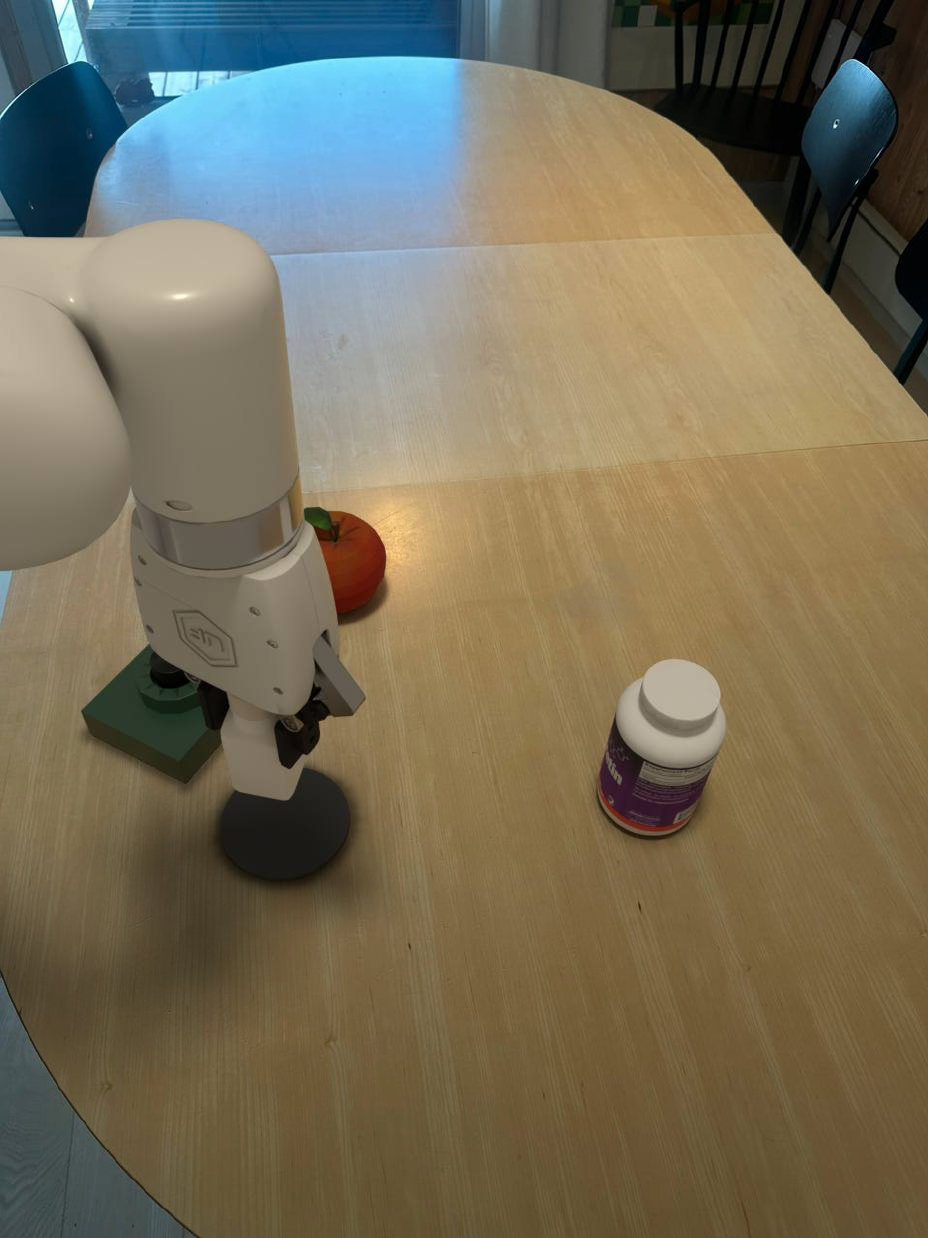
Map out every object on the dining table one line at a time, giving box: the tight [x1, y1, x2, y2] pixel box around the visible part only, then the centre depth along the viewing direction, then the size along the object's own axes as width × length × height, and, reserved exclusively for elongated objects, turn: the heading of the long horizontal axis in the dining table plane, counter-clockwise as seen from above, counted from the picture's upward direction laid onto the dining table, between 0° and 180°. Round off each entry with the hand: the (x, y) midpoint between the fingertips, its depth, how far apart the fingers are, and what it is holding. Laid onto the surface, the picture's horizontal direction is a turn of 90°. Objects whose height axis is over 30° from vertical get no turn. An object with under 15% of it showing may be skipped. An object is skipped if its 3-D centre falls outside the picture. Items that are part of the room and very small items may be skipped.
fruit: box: [304, 506, 387, 615], centre depth 89 cm, size 10×10×10 cm
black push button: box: [150, 651, 190, 689], centre depth 79 cm, size 3×3×2 cm
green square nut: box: [80, 643, 222, 784], centre depth 81 cm, size 12×10×5 cm
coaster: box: [219, 767, 351, 882], centre depth 76 cm, size 10×10×1 cm
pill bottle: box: [596, 658, 727, 837], centre depth 73 cm, size 8×8×14 cm
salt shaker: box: [221, 692, 308, 800], centre depth 58 cm, size 4×4×10 cm
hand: (263, 729), depth 58 cm, fingers closed on salt shaker, 4 cm apart
